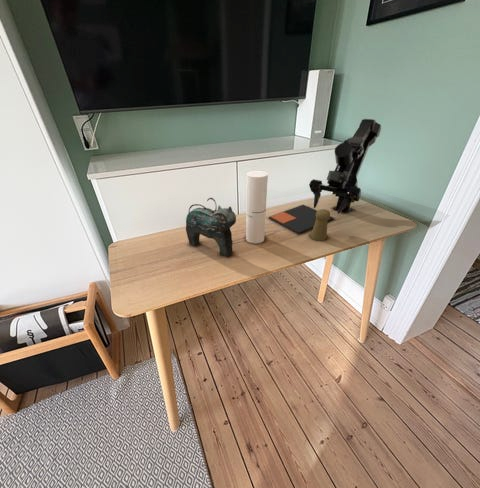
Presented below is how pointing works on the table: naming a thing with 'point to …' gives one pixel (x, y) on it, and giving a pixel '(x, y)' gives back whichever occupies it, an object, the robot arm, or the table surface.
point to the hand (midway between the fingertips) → (325, 210)
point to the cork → (320, 225)
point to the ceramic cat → (211, 226)
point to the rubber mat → (297, 219)
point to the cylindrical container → (256, 205)
